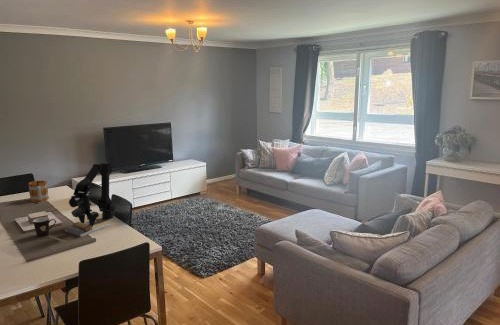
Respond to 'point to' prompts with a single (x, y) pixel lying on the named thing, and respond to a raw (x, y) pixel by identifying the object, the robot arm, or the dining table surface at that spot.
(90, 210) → the robot arm
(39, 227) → the coffee mug
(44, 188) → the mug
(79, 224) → the walnut slider
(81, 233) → the rail plate
